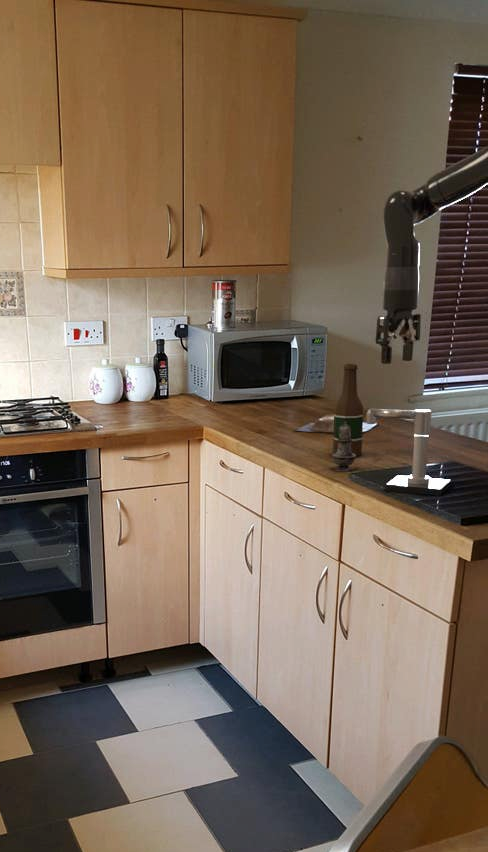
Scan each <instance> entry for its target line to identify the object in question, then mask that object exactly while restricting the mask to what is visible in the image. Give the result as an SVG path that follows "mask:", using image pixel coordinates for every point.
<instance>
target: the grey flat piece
mask: <svg viewBox="0 0 488 852" xmlns="http://www.w3.org/2000/svg"><path fill="white" fill-rule="evenodd" d="M315 422H316V425H317V426H319V427H324V428H319V427H316V426H315V423H313V422H309V423H307V424H304V425H302V426H301V427H298V428H297V429H296V431H298V432H308V433H328V434H329V433H330V434H331V433H332V434H334V429H332V428H334V413H330V414H326V415H324V416H322V417H321V418H318V419H317V420H316V421H315ZM377 424H378V423H377V422H376V424H366V422H364V421H363V432H362V433H364V432H367V431H369V430H371V429H372V428H374V427H376V426H377ZM310 429H312V430H314V431H311V430H310Z"/></svg>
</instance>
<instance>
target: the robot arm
mask: <svg viewBox="0 0 488 852" xmlns="http://www.w3.org/2000/svg"><path fill="white" fill-rule="evenodd" d="M486 185H488V145H487V146H486V147H484V148H482V149H480V150H478V151H476V152H474V153H473V154H471V155H469V156H467V157H465V158H463V159H461V160H459V161H456V163H453V164H451V165H450V166H447V167H446V168H443V169H442V170H440V171H437V173H435V174H433V175H432V176H430V177H429V178H428V179H427V181H426V183H425V184H423V185H422V186H420V187H418V188H416V189H413V190H405V189H401V190H400V189H399V190H395V191H393V192H391V194H390V195H389V196H388V197H387V199H386V201H385V203H384V207H383V212H382V219H383V230H384V236H385V242H386V249H387V250H386V260H385V272H384V276H383V277H384V279H383V295H382V297H383V298H382V301H383V302H382V309H383V310H384V311H386V315H380V316H379V315H378V316H377V320H376V330H375V344H376V345H380V347H381V351H380V353H381V355H380V359H381V361H380V362H381V364H382V365H390V364H392V357H393V347H392V346H393V344H394V342H395V340H396V339H398V338H399V337H401V339H402V342H403V345H402V358H401V359H402V362H403V361H404V362H410V361H412V360H413V356H414V354H413V353H414V345H415V344H416V342H418V341H420V339H421V321H422V320H421V319H422V318H421V317H422V316H421V314H420V313H413V311H415V310H417V309H418V302H419V301H418V300H419V284H420V270H419V266H420V253H421V252H420V251H421V249H420V247H421V246H420V241H419V240H418V239H417V238H416V236H415V225H419V224H421V223H422V222H424V221H426V220H428V219H430V218H431V217H433V216H434V215H435V214H437V213H439V211H441V210H442V209H444V208H446V207H449V206H450V205H453V204H455V203H457V202H459V201H461V200H463V199H465V198H467V197H469V196H471V195H473V194H474V193H476V192H477V191H479V190H481V189H482V188H483V187H485V186H486Z"/></svg>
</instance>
